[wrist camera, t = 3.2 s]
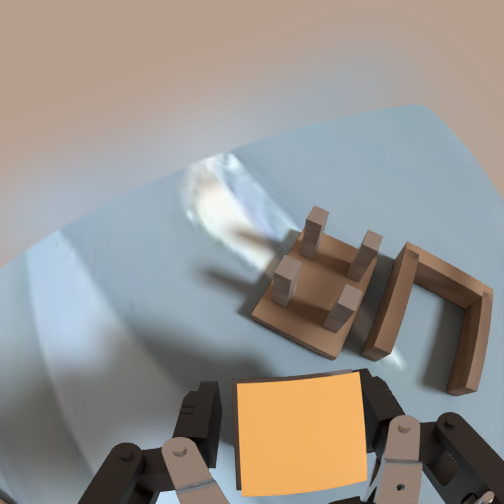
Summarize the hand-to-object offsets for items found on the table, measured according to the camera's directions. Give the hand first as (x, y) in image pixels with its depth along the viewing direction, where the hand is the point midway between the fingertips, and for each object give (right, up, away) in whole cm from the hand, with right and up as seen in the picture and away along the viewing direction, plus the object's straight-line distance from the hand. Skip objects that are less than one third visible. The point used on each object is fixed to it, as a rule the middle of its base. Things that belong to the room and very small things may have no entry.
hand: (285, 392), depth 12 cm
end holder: (+11, +1, +5) cm, 12 cm away
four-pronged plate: (+3, +4, +7) cm, 9 cm away
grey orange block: (0, -4, +3) cm, 5 cm away
